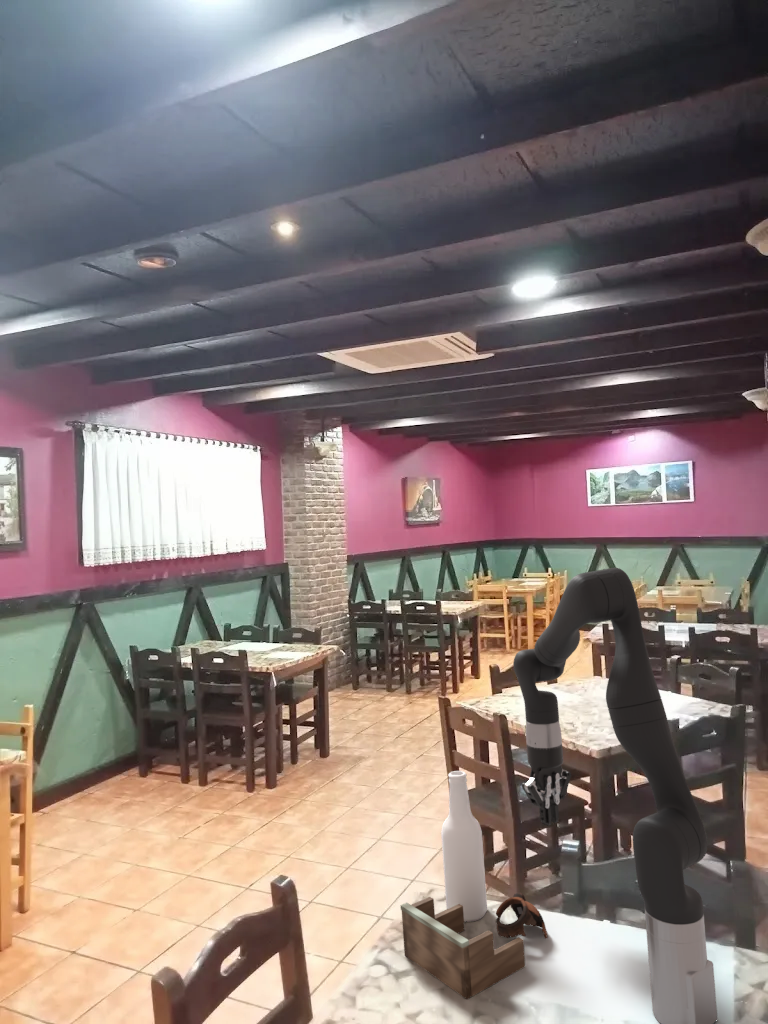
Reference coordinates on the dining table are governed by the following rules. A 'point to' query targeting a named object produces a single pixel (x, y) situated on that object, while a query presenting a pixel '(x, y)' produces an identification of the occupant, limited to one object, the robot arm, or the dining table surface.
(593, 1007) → the dining table surface
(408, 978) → the dining table surface
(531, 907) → the pottery mug
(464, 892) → the alcohol
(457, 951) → the brown stepped open box
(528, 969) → the dining table surface
